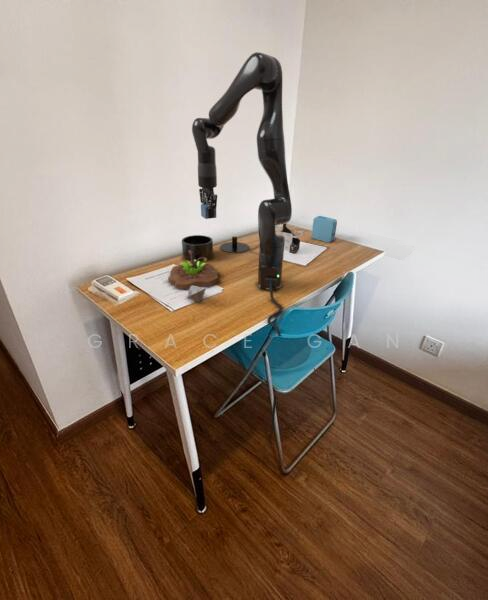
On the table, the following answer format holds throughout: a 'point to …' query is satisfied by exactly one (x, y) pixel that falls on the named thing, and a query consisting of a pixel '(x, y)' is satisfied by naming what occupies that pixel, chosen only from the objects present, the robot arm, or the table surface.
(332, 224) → the data package
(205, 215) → the block
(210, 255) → the pot
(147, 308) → the table surface
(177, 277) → the plant
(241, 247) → the lid
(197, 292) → the paper boat
